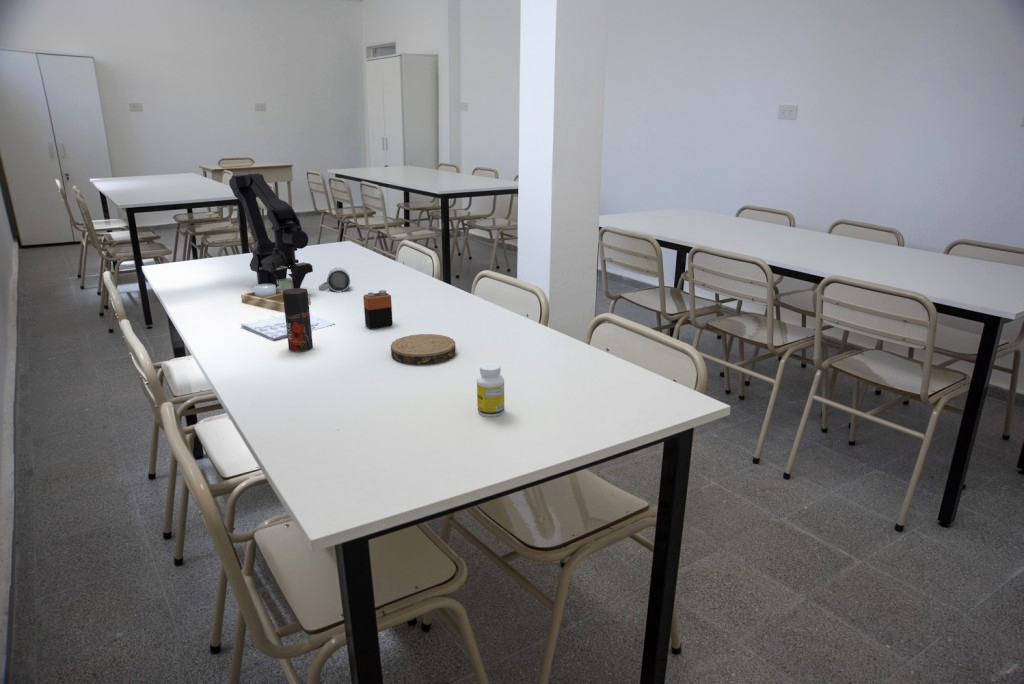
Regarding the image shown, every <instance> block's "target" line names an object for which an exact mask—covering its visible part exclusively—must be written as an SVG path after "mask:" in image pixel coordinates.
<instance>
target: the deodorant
mask: <svg viewBox="0 0 1024 684" xmlns="http://www.w3.org/2000/svg"><path fill="white" fill-rule="evenodd" d="M308 296H309V294H308V289H307V288H304V287H303V288H301V287H300V288H293V289H287V290H284V291H283V300H284V309H285V312H284V316H285V318H286V328H287V337H286V338H287V344H288V350H289V351H290V352H293V353H297V352H298V353H302V352H307V351H310V350H312V349H313V348H314V344H313V331H312V332H311V322H310V315H311V312H310V305H309V302H308Z"/></svg>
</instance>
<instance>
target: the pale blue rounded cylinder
mask: <svg viewBox="0 0 1024 684" xmlns="http://www.w3.org/2000/svg"><path fill="white" fill-rule="evenodd" d="M276 287H277V286H275V284H270V283H267V284H258V283H257V284H255V285H254V286H253V290H254V291H255V297H259V298H266V297H270V296H274V295H276V290H277V289H276ZM254 291H253V292H254Z"/></svg>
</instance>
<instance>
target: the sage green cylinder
mask: <svg viewBox="0 0 1024 684" xmlns="http://www.w3.org/2000/svg"><path fill="white" fill-rule="evenodd" d="M278 284H279V286H278V288H279V289H278V290H281V291H284V290H287V289H293V288H294V287H293V281H292V278H291V277H286V278H283V279H280V280H279V283H278Z"/></svg>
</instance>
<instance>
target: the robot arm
mask: <svg viewBox="0 0 1024 684" xmlns="http://www.w3.org/2000/svg"><path fill="white" fill-rule="evenodd" d="M228 183H229V189H231V191H232V193H233V195H234V197H235V198H236V199H237V200H238V201H239V202H241V205H242V207H243V211H244V214H245V217H246V220H247V223H248V226H249V227H248V228H249V229H250V234H251V236H252V239H253V242H254V245H253V247H252V251H251V253H252V257H251V260H250V262H249V267H250V271H252V272H255V273H256V278H257V279H256V280H257V285H258V284H267V283H270V284H275V286H276V287H279V280H280V279H283V278H288V276H289V278H292V281H293V287H294V288H301V286H302V284H303V282H304V280H305V277H306V275H307V274H310V273H313V272H314V270H313V269H314V268H313V265H312V263H310V262H299V259H296V251H297V252H298V249H299V250H301V249H302V250H303V249H304V248H305V247H307V246H308V244H309V236H308V234H307V233H306V232H305V231H303V230H302V225H301V221H300V219H299V218H298V217H299V216H298V215H297V214H296V212H295V210H294V208H293V207H292V206H291V205H290V203H288V202H287V201H285V200H282V199H281V198H279V197H278V195H277V194H276V193H275V191H274V190H273V189H272V188H271V187H270V185H269V184H268V183H267V181H266V180H265V177H264V175H263V174H262V173H259V172H257V173H256V172H255V173H247V174H236V175H232V176H231V178H230V179H229V180H228ZM257 197H258V199H259V200H260V201H261V203H262V205H263V206H264V207H265V209H266V216H267V219H268V221H270V223H271V224H272V226H271V228H270V230H272V231H273V233H274V241H272V240H271V239H270V238H269V235H268V232H267V229H266V226H265V221H264V219H263V216H262V213H261V210H260V206H259V204H258V199H257ZM288 270H290V272H291V273H288ZM287 274H288V276H287Z"/></svg>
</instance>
